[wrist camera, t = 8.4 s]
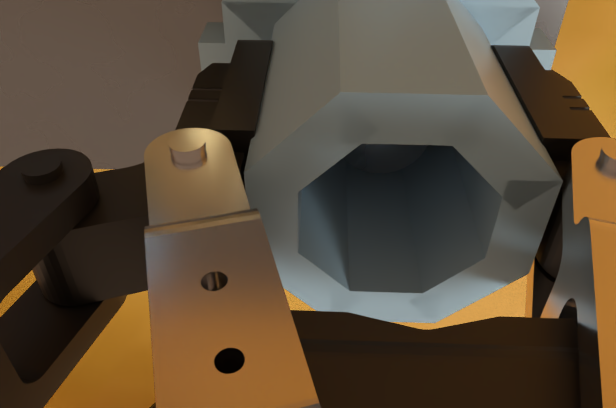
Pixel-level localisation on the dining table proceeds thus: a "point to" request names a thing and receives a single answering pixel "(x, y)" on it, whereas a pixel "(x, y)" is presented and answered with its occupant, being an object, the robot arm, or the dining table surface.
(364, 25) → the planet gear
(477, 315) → the dining table surface
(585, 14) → the dining table surface
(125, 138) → the gear carrier
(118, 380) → the dining table surface
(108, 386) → the dining table surface
